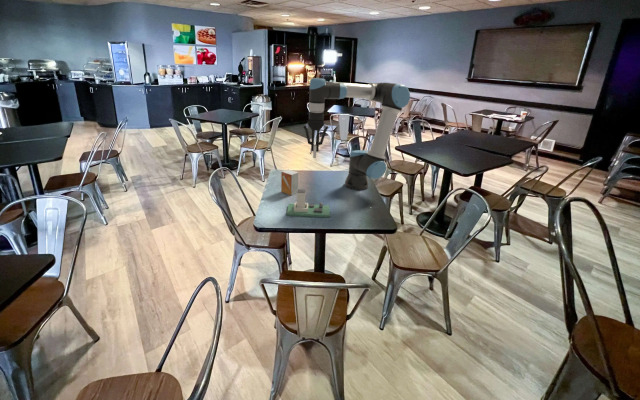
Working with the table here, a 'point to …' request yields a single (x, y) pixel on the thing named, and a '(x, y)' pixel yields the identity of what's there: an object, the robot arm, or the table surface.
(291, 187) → the small box
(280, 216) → the table surface
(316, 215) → the board
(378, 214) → the table surface
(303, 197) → the plug
